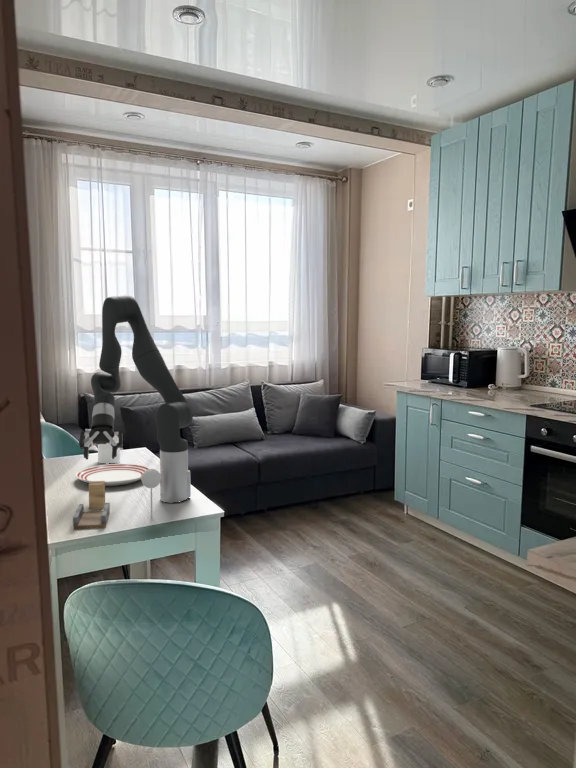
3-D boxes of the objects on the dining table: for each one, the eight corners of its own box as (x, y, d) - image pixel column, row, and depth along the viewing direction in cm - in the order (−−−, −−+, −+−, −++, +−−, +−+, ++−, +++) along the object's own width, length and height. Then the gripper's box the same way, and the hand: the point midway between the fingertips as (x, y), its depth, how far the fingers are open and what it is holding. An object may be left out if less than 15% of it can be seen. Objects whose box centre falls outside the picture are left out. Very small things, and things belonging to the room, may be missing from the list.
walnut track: (79, 515, 172) (79, 504, 171) (109, 513, 173) (109, 502, 173) (73, 529, 160) (73, 517, 160) (105, 527, 162) (105, 515, 161)
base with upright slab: (116, 457, 242) (115, 430, 241) (123, 462, 235) (122, 434, 234) (95, 460, 237) (94, 433, 236) (102, 465, 230) (101, 436, 229)
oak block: (90, 505, 181) (90, 481, 180) (105, 504, 182) (104, 480, 181) (89, 509, 177) (88, 484, 176) (103, 508, 178) (103, 484, 177)
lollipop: (141, 520, 168) (140, 472, 166) (141, 514, 173) (140, 467, 172) (162, 519, 170) (162, 471, 168) (161, 512, 175) (161, 466, 173)
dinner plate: (74, 473, 218) (74, 465, 217) (145, 467, 228) (145, 459, 228) (77, 494, 193) (76, 484, 192) (157, 486, 203) (157, 477, 203)
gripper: (80, 412, 193) (76, 452, 183) (123, 412, 196) (121, 451, 186) (83, 425, 199) (79, 464, 189) (124, 424, 202) (122, 462, 192)
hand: (100, 458), depth 188 cm, fingers open, 8 cm apart
